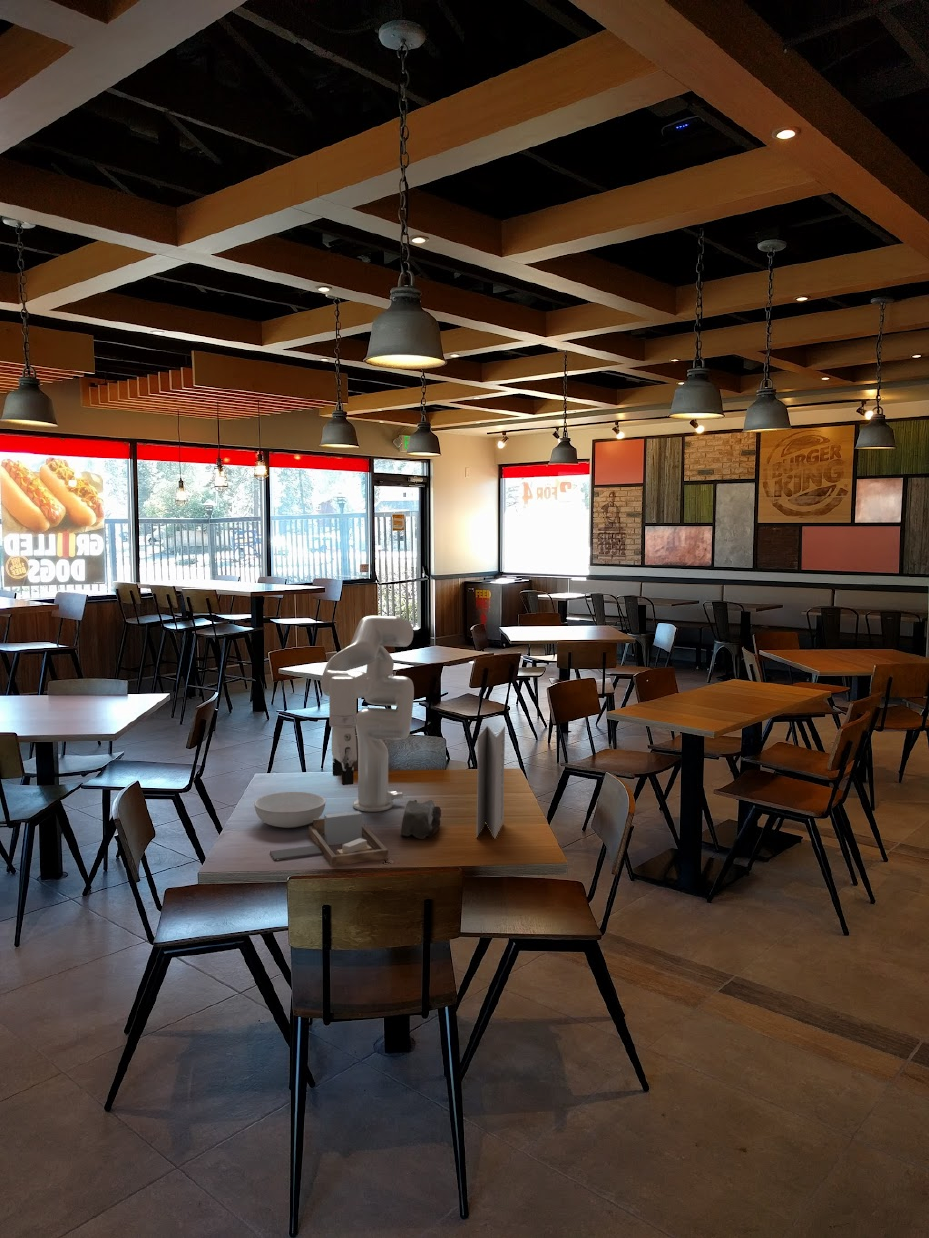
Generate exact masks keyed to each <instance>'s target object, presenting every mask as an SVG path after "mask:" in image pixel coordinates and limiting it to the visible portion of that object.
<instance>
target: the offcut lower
mask: <svg viewBox="0 0 929 1238" xmlns="http://www.w3.org/2000/svg"><path fill="white" fill-rule="evenodd" d="M371 850H373V847H372V846H371V845H369V844H367V847H364V848H362V849H359V850H357V851H355V852H352V853H356V852H363V851H371ZM340 854H348V853H346V852H343V851H342V848H341V849H337V850H336V855H340Z"/></svg>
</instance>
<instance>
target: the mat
mask: <svg viewBox="0 0 929 1238" xmlns="http://www.w3.org/2000/svg"><path fill="white" fill-rule="evenodd" d="M269 854H270V856H271V855H272V856H271V858H272V857H273V858H274V859H273V858H272V859H273V861H274V860H277V859H285V860H291V859H292V858H293V859H299V858H308V857H313V856H314V857H316V856H321V855H323V853H322V851H321V850H320V849H319V847H318V846H317V845H316V844H315V845H308V846H301V847H293V848H283V849H276V850H270V851H269ZM290 858H291V859H290ZM277 861H278V860H277Z"/></svg>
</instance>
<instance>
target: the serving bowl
mask: <svg viewBox="0 0 929 1238" xmlns="http://www.w3.org/2000/svg"><path fill="white" fill-rule="evenodd" d="M253 805H254V811H255V814H256V815H257V817H258V818H259V820H261V822H263V823H265V824H267V825H269V826H272V827H278V828H283V829H284V828H285V829H293V828H294V829H295V828H298V827H303V826H306V825H310V824H313V819H316V818H321V816H322V814H323V813H324V811H325V808H326V799H325V798H324V797H323V796H321V795H319V794H317V793H313V792H312V793H311V792H305V791H284V792H283V791H282V792H275V793H270V794H266V795H264V796H261V797H258V798H257V799H256V800H255V801H254V804H253Z"/></svg>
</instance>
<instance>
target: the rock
mask: <svg viewBox="0 0 929 1238" xmlns="http://www.w3.org/2000/svg"><path fill="white" fill-rule="evenodd" d="M441 817H442V810H441V807H440V806H435V803H434V801H433V800H426V801H425V802H418V800H417V799H414V800H411V799H409V800H408V802H407V804H406V806H405V808H404V812H403V815H402V822H401V827H400V828H401V829H400V836H401V837H402V836H405V837H410V836H411V835H412V836H414V837H415V838H417V839H420V840H424V839H425V838H426V837H429V838H430V837H432V836H433V835H434V834H435V832H437V831H438V829H439V828H440V826H441Z"/></svg>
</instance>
